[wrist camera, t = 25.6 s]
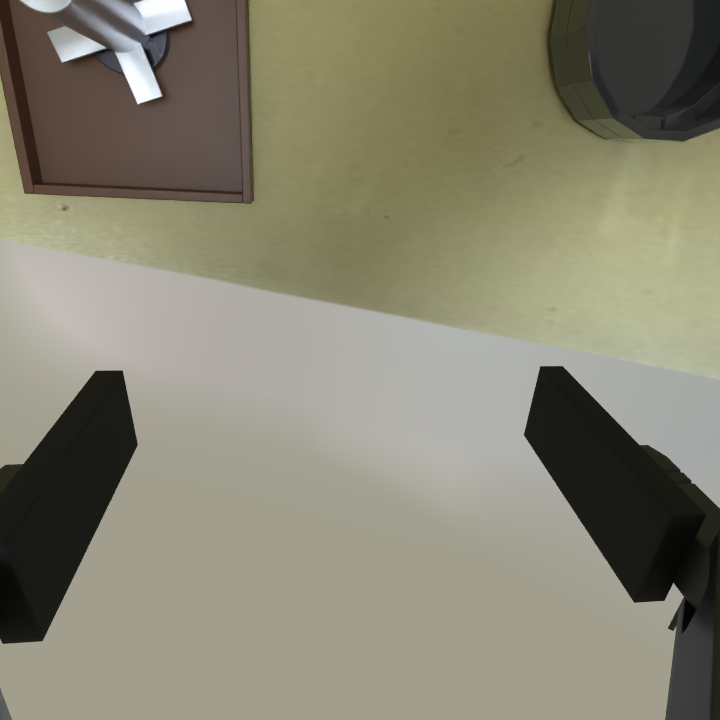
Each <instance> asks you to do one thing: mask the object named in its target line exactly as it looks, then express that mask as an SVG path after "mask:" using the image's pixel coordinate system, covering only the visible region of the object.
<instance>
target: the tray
mask: <svg viewBox="0 0 720 720" xmlns="http://www.w3.org/2000/svg"><path fill="white" fill-rule="evenodd" d="M185 1H186V4H187V7H188V9H189V12H190V15H191V17H192V20H193V21H191V22H188V23H185V24H182V25H179V26H176V27H173V28H170V29H169V31H170V47H169V52H168V55H167V57H166V60H165V61H164V63H163V64H162V65H161V67H160V68H159V69H157V70H156V71H155V72H154V74H155V77H156V79H157V81H158V84H159V86H160V89H161V91H162V93H163V97H161V98H158V99H155V100H152V101H149V102H146V103H143V104H140V105H138V104H137V102H136V100H135V97H134V95H133V93H132V91H131V88H130V86H129V84H128V81H127V79H126V77H125V75H123V74H120V73H118V72H115V71H113V70H111V69H110V68H108V67H106V66H105V65H104V64H103V63H101V62H100V61H99V60H98V59H97V58H96V56H95V55H94V54H91V55H88V56H85V57H82V58H79V59H76V60H73V61H70V62H67V63H62V62H61V60H60V58H59V56H58V54H57V52H56V50H55V48H54V46H53V44H52V42H51V39H50V37H49V35H48V33H47V32H48V31H51V30H54V29H57V28H60V27H63V25H61V24H59V23H57V22H56V21H54V20H52V19H50V18H48V17H46V16H44V15H42V14H40V13H38V12H36V11H34V10H32V9H30V8H28V7H27V6H25V5H24V4H23V3H21V2H20V1H19V0H0V75H1V80H2V85H3V90H4V94H5V99H6V104H7V109H8V114H9V119H10V124H11V129H12V134H13V139H14V144H15V149H16V154H17V159H18V164H19V168H20V173H21V178H22V183H23V188H24V193H26V194H46V195H68V196H91V197H113V198H136V199H158V200H181V201H203V202H226V203H248V204H251V203H252V202H253V200H254V197H253V160H252V123H251V86H250V48H249V11H248V0H185Z"/></svg>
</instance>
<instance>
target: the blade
mask: <svg viewBox="0 0 720 720" xmlns="http://www.w3.org/2000/svg"><path fill="white" fill-rule="evenodd" d="M19 1H20V2H21V3H23V4H24V5H25V6H27V7H28V8H30V9H32V10H34V11H36V12H38V13H40V14H42V15H44V16H46V17H48V18H50V19H52V20H54V21H56V22H57V23H59V24H61V25H63V27H60V28H57V29H54V30H51V31H48V32H47V33H48V35H49V37H50V39H51V42H52V44H53V46H54V48H55V50H56V52H57V54H58V56H59V58H60V60H61V62H62V63H67V62H70V61H73V60H76V59H79V58H82V57H85V56H88V55H91V54H94V55H95V56H96V58H97V59H98V60H99V61H100V62H101V63H103V64H104V65H105V66H106V67H108V68H110V69H111V70H113V71H115V72H118V73H120V74H123V75H125V77H126V79H127V81H128V84H129V86H130V88H131V91H132V93H133V95H134V97H135V100H136V102H137V104H138V105H140V104H143V103H146V102H149V101H152V100H155V99H158V98H161V97H163V93H162V91H161V89H160V86H159V84H158V81H157V79H156V77H155V74H154V72H155V71H156V70H157V69H159V68H160V67H161V65H162V64H163V63H164V61H165V60H166V57H167V55H168V52H169V47H170V31H169V29H170V28H173V27H176V26H179V25H182V24H185V23H188V22H191V21H193V20H192V17H191V15H190V12H189V9H188V7H187V4H186V1H185V0H19Z"/></svg>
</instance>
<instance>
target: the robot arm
mask: <svg viewBox="0 0 720 720" xmlns="http://www.w3.org/2000/svg"><path fill="white" fill-rule="evenodd" d="M524 436H525V437H526V439H527V440H528V442H529V443H530V445H531V446H532V448H533V449H534V451H535V453H536V454H537V456H538V457H539V459H540V460H541V462H542V463H543V465H544V466H545V468H546V469H547V471H548V472H549V474H550V475H551V477H552V478H553V480H554V481H555V482H556V484H557V486H558V487H559V489H560V491H561V492H562V494H563V495H564V497H565V498H566V500H567V501H568V503H569V504H570V505H571V507H572V509H573V510H574V512H575V513H576V515H577V516H578V518H579V519H580V521H581V522H582V524H583V525H584V527H585V528H586V530H587V531H588V533H589V534H590V536H591V538H592V539H593V541H594V542H595V544H596V545H597V547H598V548H599V550H600V551H601V553H602V554H603V556H604V557H605V559H606V560H607V561H608V563H609V565H610V566H611V568H612V569H613V571H614V573H615V574H616V576H617V577H618V579H619V580H620V582H621V583H622V585H623V586H624V588H625V589H626V591H627V592H628V594H629V595H630V597H631V598H632V600H633V601H634V602H635V603H636V602H651V601H664V600H665V598H666V596H667V594H668V592H669V590H670V588H671V586H672V584H673V583H674V584H675V585H676V586H677V588H678V589H679V590H680V592H681V593H682V594H683V596H684V598H683V600H682V602H681V604H680V606H679V608H678V610H677V612H676V613H675V615H674V618H673V620H672V621H671V624H670V626H669V627H668V629H671V630H674V629H675V627H676V625H677V627H676V636H675V643H674V652H673V661H672V668H671V678H670V685H669V693H668V702H667V710H666V718H665V720H720V508H719V507H717V506H716V504H714V503H713V502H712V501H711V500H710V499H709V498H708V497H707V496H706V495H705V494H704V493H703V492H702V491H701V490H700V489H699V488H698V487H697V486H696V485H695V484H692V483H691V480H690V479H689V478H688V477H687V476H686V475H685V474H684V473H681V472H680V469H679V468H678V467H677V466H676V465H675V464H673V463H672V461H671V460H670V459H669V458H667V457H666V456H665V455H663V454H662V453H660V452H658V451H656V450H655V449H653V448H652V447H650V446H648V445H639V444H638V443H637V442H636V441H635V440H634V439H633V438H632V437H631V436H630V435H629V434H628V433H627V432H626V431H625V430H624V429H623V428H622V427H621V426H620V425H619V424H618V423H617V422H616V421H615V420H614V419H613V418H612V417H611V416H610V415H609V413H608V412H607V411H606V410H605V409H604V408H603V407H601V405H600V404H599V403H598V402H597V401H596V400H595V399H594V398H593V397H592V396H591V395H590V394H589V393H588V392H587V391H586V390H585V389H584V388H583V387H582V386H581V385H580V384H579V383H578V382H577V381H576V380H575V379H574V378H573V377H572V376H571V375H570V373H569V372H568V371H567V370H566V369H565V368H564V367H563V366H553V367H552V366H544V367H542V366H541V367H540V370H539V374H538V379H537V383H536V387H535V391H534V395H533V399H532V404H531V408H530V412H529V416H528V420H527V425H526V429H525V433H524ZM137 445H138V444H137V439H136V435H135V429H134V424H133V419H132V414H131V409H130V404H129V400H128V395H127V390H126V385H125V380H124V376H123V371H95V373H94V374H93V375H92V376H91V378H90V379H89V380H88V382H87V383H86V384H85V386H84V387H83V388H82V389H81V391H80V392H79V393H78V394H77V396H76V397H75V398H74V400H73V401H72V402H71V403H70V405H69V406H68V407H67V409H66V410H65V411H64V412H63V414H62V415H61V416H60V418H59V419H58V420H57V422H56V423H55V424H54V425H53V427H52V428H51V429H50V431H49V432H48V433H47V434H46V436H45V437H44V438H43V440H42V441H41V442H40V443H39V445H38V446H37V448H36V449H35V450H34V451H33V453H32V454H31V455H30V457H29V458H28V459H27V460H26V462H25V463H24V464H18V465H5V466H3V467H2V468H1V469H0V639H1V641H2V643H3V644H5V643H22V642H36V641H43V639H44V637H45V635H46V633H47V631H48V628H49V626H50V624H51V622H52V620H53V618H54V616H55V614H56V612H57V610H58V608H59V606H60V604H61V602H62V600H63V598H64V595H65V594H66V591H67V589H68V587H69V585H70V583H71V581H72V579H73V577H74V575H75V573H76V571H77V569H78V567H79V565H80V563H81V561H82V559H83V556H84V554H85V552H86V550H87V548H88V546H89V544H90V542H91V540H92V538H93V536H94V534H95V532H96V530H97V528H98V526H99V524H100V521H101V519H102V517H103V515H104V513H105V511H106V509H107V507H108V505H109V503H110V501H111V499H112V497H113V495H114V493H115V490H116V488H117V486H118V484H119V482H120V480H121V478H122V476H123V474H124V472H125V470H126V468H127V466H128V464H129V462H130V460H131V458H132V455H133V453H134V451H135V449H136V447H137ZM0 720H12V719H11V716H10V713H9V711H8V708H7V705H6V703H5V700H4V697H3V695H2V692H1V689H0Z"/></svg>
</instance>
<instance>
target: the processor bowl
mask: <svg viewBox="0 0 720 720" xmlns="http://www.w3.org/2000/svg"><path fill="white" fill-rule="evenodd" d="M550 48H551V55H552V62H553V69H554V75H555V82H556V87H557V89H558V91H559V92H560V94H561V96H562V98H563V99H564V101H565V103H566V104H567V106H568V108H569V109H570V111H571V113H572V114H573V116H574V118H575V120H576V121H578V122H579V123H581V124H582V125H584V126H586V127H587V128H589V129H590V130H592V131H593V132H595V133H597V134H598V135H600V136H601V137H603V138H604V139H610V140H624V141H639V142H683V141H686V140H689V139H692V138H694V137H697V136H700V135H702V134H705V133H708V132H710V131H713V130H716V129H718V128H720V0H557V2H556V8H555V13H554V19H553V25H552V30H551V36H550Z"/></svg>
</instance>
